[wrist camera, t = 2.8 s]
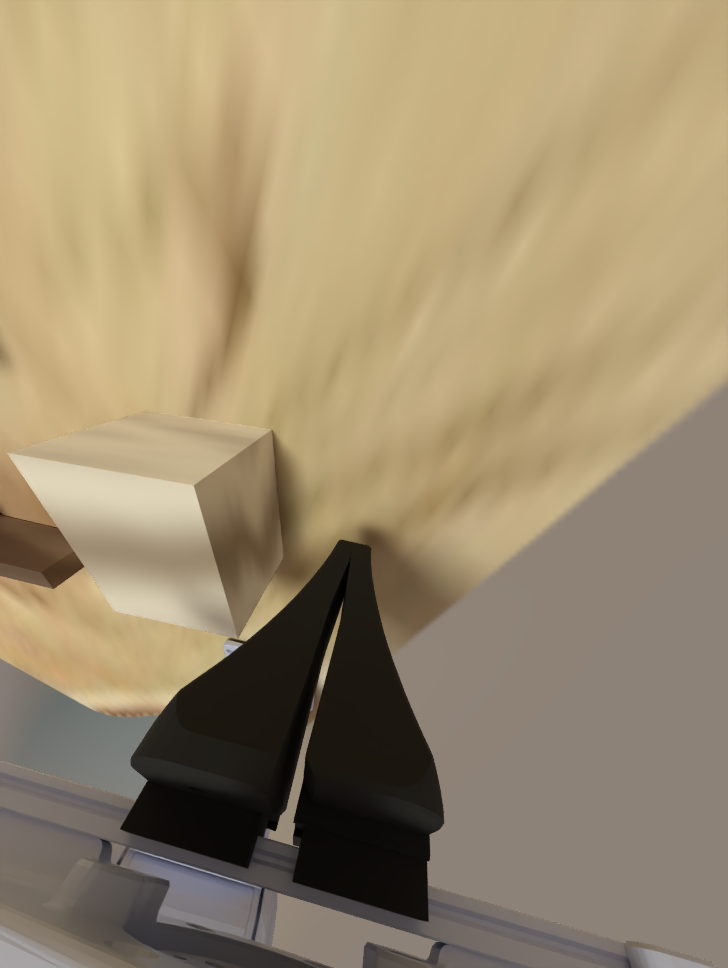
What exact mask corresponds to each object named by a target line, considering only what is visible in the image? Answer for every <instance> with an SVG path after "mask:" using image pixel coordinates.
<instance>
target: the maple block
mask: <svg viewBox="0 0 728 968" xmlns="http://www.w3.org/2000/svg"><path fill="white" fill-rule="evenodd" d="M8 455H9V456H10V458H11V459H12V461H13V462H14V464H15V465H16V467H17V468H18V470H19V471H20V472H21V474H22V475H23V477H24V478H25V480H26V481H27V483H28V484H29V486H30V487H31V489H32V490H33V492H34V493H35V495H36V496H37V497H38V499H39V500H40V502H41V503H42V505H43V506H44V508H45V509H46V511H47V512H48V514H49V515H50V517H51V518H52V520H53V521H54V523H55V524H56V525H57V527H58V528H59V530H60V531H61V533H62V534H63V536H64V537H65V539H66V540H67V542H68V543H69V545H70V546H71V548H72V549H73V550H74V552H75V553H76V555H77V556H78V558H79V559H80V561H81V562H82V564H83V565H84V567H85V568H86V570H87V571H88V573H89V574H90V575H91V577H92V578H93V580H94V581H95V583H96V584H97V586H98V587H99V589H100V590H101V592H102V593H103V595H104V596H105V598H106V599H107V601H108V602H109V603H110V605H111V606H112V608H113V609H114V611H116V612H120V613H125V614H129V615H134V616H138V617H143V618H147V619H152V620H156V621H161V622H165V623H170V624H174V625H179V626H183V627H188V628H192V629H197V630H201V631H206V632H210V633H215V634H219V635H224V636H228V637H233V638H237V639H238V638H239V636H240V634H241V632H242V631H243V629H244V627H245V625H246V623H247V622H248V620H249V618H250V616H251V615H252V613H253V611H254V609H255V607H256V606H257V604H258V602H259V600H260V598H261V597H262V595H263V593H264V591H265V590H266V588H267V586H268V584H269V582H270V581H271V579H272V577H273V575H274V573H275V572H276V570H277V568H278V566H279V565H280V563H281V561H282V559H283V557H284V556H283V545H282V534H281V523H280V512H279V501H278V490H277V480H276V469H275V458H274V447H273V436H272V429H266V428H259V427H253V426H246V425H239V424H233V423H226V422H220V421H213V420H207V419H200V418H193V417H187V416H180V415H174V414H167V413H161V412H154V411H148V410H147V411H143V412H140V413H137V414H133V415H130V416H127V417H123V418H120V419H117V420H114V421H110V422H107V423H104V424H100V425H97V426H94V427H90V428H87V429H84V430H81V431H77V432H74V433H71V434H67V435H64V436H61V437H58V438H54V439H51V440H48V441H44V442H41V443H38V444H34V445H31V446H28V447H25V448H21V449H18V450H15V451H11V452H8Z"/></svg>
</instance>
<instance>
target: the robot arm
mask: <svg viewBox="0 0 728 968" xmlns="http://www.w3.org/2000/svg"><path fill="white" fill-rule="evenodd" d="M343 599H344V601H343ZM342 602H343V607H342V614H341V621H340V625H339V629H338V633H337V637H336V641H335V645H334V649H333V652H332V656H331V660H330V664H329V668H328V672H327V676H326V680H325V683H324V687H323V691H322V695H321V699H320V703H319V706H318V710H317V714H316V718H315V721H314V725H313V729H312V733H311V737H310V740H309V744H308V748H307V752H306V757H305V768H304V779H303V784H302V788H301V792H300V796H299V800H298V804H297V809H296V813H295V817H294V823H295V830H294V834H293V845H295V846H299V848H298V847H295V846H291V845H288V844H284V843H281V842H277V841H274V840H271V839H268V836H269V832H270V830H273V831H276V829H277V825H278V821H279V818H280V815H281V814H282V813H283V812H284V811H285V810H286V808H287V803H288V799H289V795H290V791H291V787H292V782H293V779H294V774H295V771H296V766H297V762H298V758H299V754H300V750H301V746H302V742H303V738H304V734H305V730H306V726H307V722H308V718H309V714H310V711H312V710H313V707H314V698H315V690H316V686H317V682H318V678H319V674H320V670H321V666H322V662H323V659H324V656H325V652H326V649H327V646H328V643H329V640H330V637H331V635H332V632H333V629H334V626H335V623H336V620H337V617H338V614H339V611H340V608H341V605H342ZM223 648H224V651H225V655H226V658H224V659H223V660H222V661H220V662H219V663H218V664H216V665H215V666H213V667H212V668H210V669H209V670H208V671H206V672H205V673H203V674H202V675H200V676H199V677H198V678H196V679H195V680H193V681H192V682H191V683H189V684H188V685H186V686H185V687H183V688H182V689H181V690H180V691H179V692H178V693H177V694H176V695H175V696H174V697H173V699H172V700H171V701H170V702H169V704H168V705H167V706H166V707H165V709H164V710H163V711H162V713H161V714H160V715H159V716H158V718H157V719H156V721H155V722H154V723H153V725H152V726H151V728H150V729H149V731H148V732H147V734H146V736H145V737H144V739H143V740H142V742H141V743H140V745H139V746H138V748H137V750H136V751H135V752H134V754H133V756H132V757H131V766H132V767H133V768H134V769H135V770H136V771H137V772H138V773H140V774H141V775H142V776H143V777H145V778H146V779H147V780H148V781H147V783H146V785H145V786H144V788H143V790H142V792H141V793H140V795H139V797H138V799H137V800H134V799H130V798H127V797H124V796H120V795H116V794H113V793H110V792H107V791H103V790H100V789H96V788H93V787H89V786H86V785H83V784H79V783H75V782H72V781H69V780H65V779H62V778H59V777H55V776H52V775H48V774H44V773H42V772H38V771H35V770H31V769H28V768H24V767H20V766H17V765H14V764H11V763H7V762H3V761H0V968H332V967H330V966H327V965H324V964H321V963H318V962H316V961H312V960H310V959H307V958H304V957H301V956H298V955H296V954H293V953H290V952H287V951H284V950H281V949H278V948H275V947H272V940H273V934H274V928H275V920H276V912H277V893H281V894H284V895H287V896H291V897H294V898H297V899H300V900H304V901H307V902H310V903H314V904H317V905H320V906H323V907H327V908H330V909H333V910H337V911H340V912H343V913H346V914H350V915H353V916H356V917H360V918H363V919H366V920H370V921H373V922H376V923H379V924H383V925H386V926H390V927H393V928H396V929H399V930H403V931H406V932H409V933H412V934H416V935H419V936H422V937H425V938H429V939H432V940H435V941H439V942H436V943H435V944H434V945H433V946H432V949H431V952H430V955H429V958H428V959H427V960H424V959H422V958H419V957H417V956H414V955H411V954H408V953H405V952H401V951H398V950H395V949H391V948H388V947H384V946H380V945H377V944H373V943H369V942H367V943H366V945H365V946H364V956H363V968H717V967H716V966H715V965H714V964H713V963H712V962H710V961H706V960H703V959H700V958H697V957H693V956H690V955H686V954H683V953H679V952H676V951H673V950H669V949H666V948H662V947H658V946H654V945H650V944H646V943H639V942H633V941H626V943H623V942H620V941H616V940H613V939H609V938H606V937H603V936H599V935H596V934H592V933H589V932H586V931H582V930H578V929H575V928H572V927H568V926H565V925H562V924H558V923H555V922H551V921H548V920H544V919H541V918H537V917H534V916H531V915H527V914H524V913H521V912H517V911H514V910H510V909H507V908H503V907H500V906H496V905H493V904H490V903H486V902H483V901H479V900H476V899H473V898H469V897H466V896H462V895H459V894H456V893H452V892H449V891H445V890H442V889H438V888H435V887H432V886H428V881H427V880H428V879H427V861H429V860H430V838H429V834H431V833H434V832H436V831H438V830H439V829H440V828H441V827H442V826H443V824H444V811H443V804H442V797H441V790H440V785H439V780H438V775H437V771H436V767H435V763H434V759H433V755H432V753H431V751H430V748H429V746H428V744H427V742H426V740H425V738H424V736H423V733H422V731H421V729H420V727H419V724H418V722H417V720H416V718H415V715H414V713H413V711H412V708H411V706H410V703H409V701H408V699H407V696H406V694H405V691H404V689H403V686H402V683H401V681H400V678H399V676H398V673H397V670H396V667H395V665H394V662H393V659H392V656H391V653H390V650H389V647H388V644H387V640H386V637H385V634H384V630H383V627H382V623H381V619H380V615H379V611H378V606H377V602H376V597H375V591H374V585H373V579H372V570H371V548H370V546H367V545H363V544H358V543H354V542H349V541H345V540H339V541H338V543H337V544H336V546H335V548H334V549H333V551H332V553H331V554H330V555H329V557H328V558H327V560H326V561H325V562H324V564H323V565H322V566H321V568H320V569H319V570H318V571H317V573H316V574H315V575H314V576H313V578H312V579H311V580H310V581H309V582H308V583H307V584H306V585H305V587H304V588H303V589H302V590H301V591H300V592H299V593H298V594H297V595H296V596H295V597H294V599H293V600H292V601H291V602H290V603H289V604H288V605H287V606H286V607H285V608H284V609H282V610H281V611H280V612H279V613H278V614H277V615H276V616H275V617H274V618H273V619H272V620H271V621H269V622H268V623H267V624H266V625H265V626H264V627H263V628H262V629H260V630H259V631H258V632H257V633H256V634H255V635H253V636H252V637H251V638H250V639H249V640H247V641H246V642H245V643H239V642H235V641H230V640H227V641H225V643H224V645H223Z"/></svg>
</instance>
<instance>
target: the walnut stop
mask: <svg viewBox="0 0 728 968" xmlns="http://www.w3.org/2000/svg"><path fill="white" fill-rule="evenodd" d="M83 567H84V565H83V564H82V562H81V561H80V559H79V558H78V556H77V555H76V553H75V552H74V550H73V549H72V548H71V546H70V545H69V543H68V542H67V540H66V539H65V537H64V536H63V534H62V533H61V531H60V530H59V528H54V527H50V526H46V525H41V524H37V523H33V522H29V521H24V520H20V519H16V518H11V517H7V516H3V515H1V514H0V576H3V577H7V578H11V579H15V580H19V581H23V582H27V583H32V584H36V585H40V586H44V587H48V588H52V589H54V588H56V587H57V586H58V585H60V584H61V583H63V582H64V581H65V580H67V579H68V578H69V577H71V576H72V575H74V574H75V573H76V572H78V571H79V570H80V569H82V568H83Z"/></svg>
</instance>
